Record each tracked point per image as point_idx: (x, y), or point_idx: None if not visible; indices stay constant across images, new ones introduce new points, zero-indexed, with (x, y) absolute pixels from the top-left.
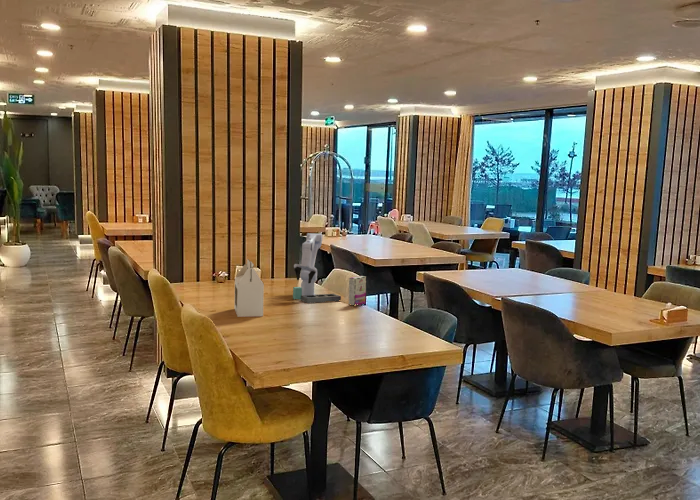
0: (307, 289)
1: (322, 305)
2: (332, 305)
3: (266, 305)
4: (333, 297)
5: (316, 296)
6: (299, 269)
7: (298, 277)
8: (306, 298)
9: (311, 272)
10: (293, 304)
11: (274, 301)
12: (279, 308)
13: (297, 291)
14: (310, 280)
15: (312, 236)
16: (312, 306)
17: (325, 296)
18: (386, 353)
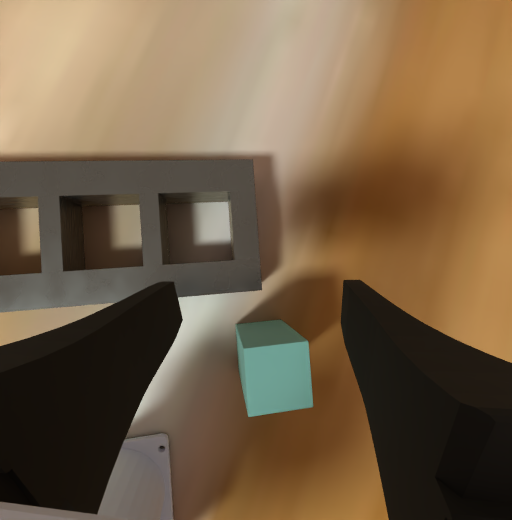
0: (127, 492)
1: (177, 72)
2: (106, 47)
3: (489, 182)
4: (7, 164)
5: (153, 209)
6: (490, 372)
7: (371, 289)
8: (253, 180)
9: (31, 412)
10: (344, 164)
11: (421, 288)
12: (449, 80)
13: (282, 334)
14: (155, 289)
15: None
16: (254, 65)
17: (74, 188)
18: None
